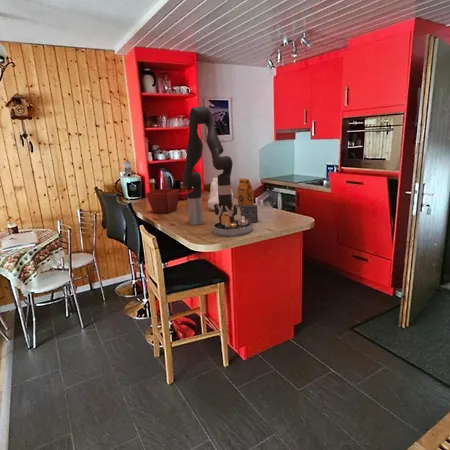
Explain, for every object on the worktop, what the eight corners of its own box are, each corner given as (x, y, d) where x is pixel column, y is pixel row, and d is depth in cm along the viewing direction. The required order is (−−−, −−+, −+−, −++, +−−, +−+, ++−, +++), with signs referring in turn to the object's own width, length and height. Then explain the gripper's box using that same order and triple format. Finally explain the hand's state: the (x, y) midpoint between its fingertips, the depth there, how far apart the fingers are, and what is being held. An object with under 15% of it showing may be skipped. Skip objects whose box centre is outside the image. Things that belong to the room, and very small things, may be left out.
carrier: (205, 231, 203) (204, 217, 201) (237, 224, 214) (236, 211, 212) (226, 239, 184) (225, 224, 182) (260, 231, 195) (259, 217, 193)
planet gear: (219, 223, 193) (218, 215, 192) (228, 221, 196) (227, 213, 195) (225, 225, 188) (224, 216, 187) (234, 223, 191) (233, 214, 190)
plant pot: (147, 214, 262) (145, 192, 258) (162, 209, 279) (159, 188, 275) (168, 215, 255) (166, 192, 250) (181, 209, 271) (179, 188, 267)
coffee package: (245, 209, 258) (244, 180, 253) (236, 206, 269) (234, 179, 263) (256, 207, 263) (254, 178, 258) (246, 205, 274) (245, 177, 268)
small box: (258, 220, 221) (257, 204, 218) (257, 222, 215) (256, 206, 212) (241, 220, 223) (241, 205, 220) (240, 223, 216) (239, 207, 214)
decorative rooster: (205, 209, 266) (202, 177, 260) (223, 206, 272) (221, 175, 266) (219, 215, 244) (216, 180, 238) (238, 211, 250) (236, 178, 244)
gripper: (239, 192, 188) (241, 221, 192) (216, 191, 194) (218, 220, 198) (233, 194, 181) (235, 224, 185) (210, 194, 188) (212, 223, 192)
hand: (226, 222), depth 192 cm, fingers closed on planet gear, 6 cm apart
